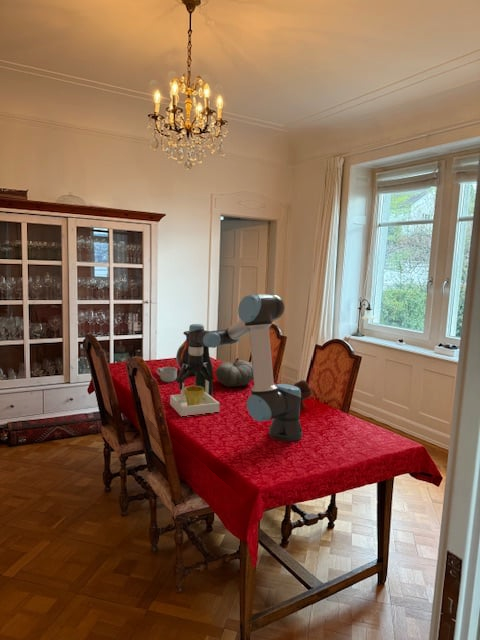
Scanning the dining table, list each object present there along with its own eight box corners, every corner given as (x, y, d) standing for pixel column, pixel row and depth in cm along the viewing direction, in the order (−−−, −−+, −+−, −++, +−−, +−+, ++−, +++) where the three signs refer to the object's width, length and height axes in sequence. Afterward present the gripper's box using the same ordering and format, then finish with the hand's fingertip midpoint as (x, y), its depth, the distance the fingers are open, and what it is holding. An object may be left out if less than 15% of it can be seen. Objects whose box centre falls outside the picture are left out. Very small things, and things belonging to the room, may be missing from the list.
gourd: (264, 383, 274) (260, 356, 272) (231, 395, 261) (226, 366, 259) (242, 377, 295) (238, 352, 293) (210, 388, 282) (206, 362, 279)
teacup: (180, 380, 281) (180, 368, 280) (168, 384, 272) (169, 372, 271) (163, 377, 288) (164, 365, 287) (152, 380, 279) (152, 368, 278)
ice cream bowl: (314, 406, 242) (316, 380, 240) (302, 411, 234) (304, 383, 232) (298, 401, 249) (300, 376, 247) (286, 406, 241) (288, 379, 239)
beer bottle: (201, 398, 248) (203, 340, 243) (190, 393, 255) (192, 337, 251) (216, 395, 255) (218, 339, 250) (205, 390, 262) (207, 336, 258)
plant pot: (186, 410, 224) (187, 392, 223) (181, 404, 234) (182, 386, 233) (206, 408, 228) (206, 390, 227) (200, 402, 238) (200, 385, 237)
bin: (219, 412, 227) (219, 403, 226) (182, 417, 218) (182, 407, 218) (205, 400, 245) (205, 391, 244) (170, 404, 236) (170, 395, 235)
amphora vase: (180, 367, 314) (181, 328, 310) (210, 369, 311) (211, 330, 307) (171, 375, 293) (172, 333, 289) (203, 377, 290) (205, 336, 286)
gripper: (215, 351, 236) (214, 389, 239) (170, 354, 225) (169, 394, 228) (220, 354, 230) (219, 393, 233) (174, 357, 219) (173, 398, 222)
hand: (194, 394), depth 230 cm, fingers open, 13 cm apart
